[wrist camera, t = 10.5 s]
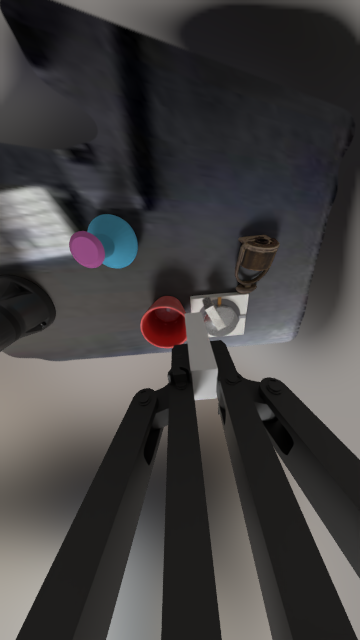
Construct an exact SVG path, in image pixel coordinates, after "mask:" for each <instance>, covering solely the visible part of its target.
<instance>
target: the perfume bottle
mask: <svg viewBox="0 0 360 640" xmlns="http://www.w3.org/2000/svg"><path fill="white" fill-rule="evenodd" d="M69 247H70V251H71V253H72V255H73V257H74V258H75V259H76V261H77V262H79V263H80V264H81V265H83V266H85V267H88V268H96V267H98V266H100V265H101V264H102V263H103V264H104V265H106V266H108V267H111V268H123V267H126V266H128V265H129V264H131V263H132V262H133V260H134V259H135V257H136V254H137V251H138V242H137V238H136V235H135V233H134V231H133V229H132V228H131V226H130V225H129V224H128V223H127V222H126V221H125V220H123V219H121V218H120V217H117V216H115V215H111V214H103V215H100V216H97V217H96V218H94V219H93V220H92V222H91V223H90V225H89V227H88V231H87V232H85V231H79V232H76V233H74V234H73V235H72V236H71V239H70V242H69Z"/></svg>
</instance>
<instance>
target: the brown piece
mask: <svg viewBox="0 0 360 640" xmlns="http://www.w3.org/2000/svg"><path fill="white" fill-rule="evenodd" d="M238 240H239V241H240V242H241V243H242V246H241V248H240V252H239V256H238V260H237V263H236V267H235V277H236V279H237V281H238V282H239V283H241V285H238V286H237V287H236V290H237V291H238V292H239V293H244V294H246V293H250V292H252V291H253V290H255V289H256V287H257V286H256V284H253V283H255V282H257V281H259V280H260V279H261V278H262V277H263V276H264V275H265V274H266V273H267V272H268V270H269V268H270V266H271V264H272V262H273V259H274V257H275V254H276V252H277V250H278V248H279V242H278V241H277V240H276V239H274V238H270V237H268V236H266V235H258V236H247V237H240V238H239V239H238ZM240 265H241V266H242V267H244V268H246V269H250V270H256V271H262V270H264V271H263V272H262V273H261V274H260V275H259V276H257V277H256V278H254V279H253V280H250V281H241V280H240V279H239V277H238V271H239V267H240Z"/></svg>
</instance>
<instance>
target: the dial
mask: <svg viewBox="0 0 360 640" xmlns="http://www.w3.org/2000/svg"><path fill="white" fill-rule="evenodd" d="M202 302H203V305H204V308H205V311H206V312H205V314H204V316H203V320H204V323H205V327H206V330H207V333H209V334H210V335H212V336H217V337H220V336H225V335H228V334H230V333H231V332H232V331H233V330H234V329H235V328H236V326H237V324H238V317H237V315H236V313H235V312H234V310H233V309H232V308H231V307H230V306H228V305H225V304H218V305H214V303H213V302H212V300H211V298H210V297H209V296H208V297H206V298H204V299H203V300H202Z"/></svg>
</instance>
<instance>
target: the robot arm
mask: <svg viewBox="0 0 360 640" xmlns="http://www.w3.org/2000/svg"><path fill="white" fill-rule="evenodd" d="M54 319H55V308H54V305H53V303H52V301H51V300H50V298H49V297H48V295H47V294H46V293H45V292H44V291H43V290H42V289H41V288H39V287H38V286H37V285H35V284H34V283H32V282H30V281H28V280H26V279H24V278H21V277H18V276H12V275H4V276H0V352H1V351H2V350H4V349H5V348H6V347H8V346H9V345H11V344H12V343H13V342H15V341H16V340H18V339H19V338H22V337H25V336H28V335H31V334H34V333H37V332H40V331H42V330H44V329H45V328H47V327H48V326H49V325H51V324H52V323H53V321H54ZM185 324H186V334H187V344H178V345H174V347H173V349H172V363H171V366H172V367H171V370H170V371H169V372H168V380H169V383H168V384H167V385H166V386H165V387H163V388H161V389H159V390H157V391H154V390H153V389H150V388H146V389H142V390H140V391H139V392H138V393H136V395H135V396H134V397H133V400H132V401H131V404H130V406H129V408H128V410H127V412H126V414H125V416H124V418H123V420H122V422H121V424H120V426H119V428H118V430H117V432H116V435H115V436H114V438H113V441H112V443H111V445H110V447H109V449H108V451H107V453H106V455H105V457H104V459H103V461H102V463H101V465H100V467H99V469H98V471H97V473H96V476H95V478H94V480H93V482H92V484H91V486H90V488H89V490H88V492H87V494H86V496H85V498H84V500H83V502H82V504H81V506H80V508H79V510H78V513H77V515H76V517H75V519H74V521H73V523H72V525H71V527H70V529H69V531H68V533H67V535H66V537H65V539H64V541H63V543H62V546H61V548H60V549H59V552H58V554H57V556H56V558H55V560H54V562H53V564H52V566H51V568H50V570H49V572H48V574H47V576H46V578H45V580H44V582H43V585H42V587H41V589H40V591H39V593H38V595H37V597H36V599H35V601H34V603H33V605H32V607H31V610H30V611H29V613H28V615H27V618H26V619H25V622H24V623H23V626H22V628H21V630H20V632H19V634H18V636H17V638H16V640H106V637H107V634H108V630H109V627H110V623H111V619H112V615H113V612H114V608H115V604H116V601H117V597H118V593H119V590H120V586H121V582H122V579H123V575H124V571H125V568H126V564H127V560H128V557H129V553H130V549H131V546H132V542H133V538H134V534H135V531H136V527H137V524H138V520H139V516H140V512H141V508H142V505H143V501H144V497H145V494H146V490H147V486H148V483H149V479H150V476H151V472H152V468H153V465H154V460H155V457H156V453H157V450H158V446H159V443H160V439H161V435H162V431H163V428H164V427H165V426H167V425H168V448H167V478H166V479H167V481H166V509H165V541H164V572H163V604H162V605H163V606H162V634H161V640H222V638H221V630H220V620H219V612H218V603H217V594H216V585H215V576H214V567H213V558H212V550H211V542H210V532H209V523H208V514H207V506H206V497H205V488H204V479H203V470H202V462H201V452H200V444H199V435H198V426H197V417H196V408H195V400H202V399H215V398H217V397H218V401H219V403H218V414H220V416H221V420H222V424H223V428H224V433H225V437H226V441H227V446H228V450H229V454H230V459H231V463H232V467H233V471H234V476H235V480H236V484H237V489H238V493H239V497H240V501H241V506H242V510H243V514H244V518H245V523H246V527H247V531H248V536H249V540H250V544H251V549H252V553H253V557H254V561H255V566H256V570H257V574H258V579H259V583H260V587H261V591H262V596H263V600H264V604H265V608H266V613H267V617H268V621H269V626H270V630H271V635H272V639H273V640H358V639H357V637H356V635H355V632H354V630H353V628H352V625H351V623H350V621H349V619H348V616H347V614H346V612H345V609H344V607H343V605H342V603H341V600H340V598H339V596H338V593H337V591H336V589H335V587H334V584H333V582H332V580H331V577H330V576H329V573H328V571H327V568H326V566H325V564H324V562H323V559H322V557H321V555H320V553H319V550H318V548H317V546H316V543H315V541H314V539H313V536H312V534H311V532H310V529H309V527H308V525H307V523H306V520H305V518H304V516H303V514H302V511H301V509H300V507H299V504H298V502H297V500H296V498H295V495H294V493H293V491H292V488H291V486H290V484H289V482H288V479H287V477H286V475H285V472H284V470H283V468H282V466H281V463H280V461H279V459H278V457H277V454H276V452H275V450H276V451H277V453H278V454H279V456H280V457H281V459H282V460H283V462H284V464H285V465H286V467H287V468H288V470H289V471H290V473H291V474H292V476H293V477H294V479H295V480H296V482H297V483H298V485H299V487H300V488H301V489H302V491H303V493H304V494H305V496H306V497H307V499H308V500H309V502H310V503H311V505H312V506H313V508H314V509H315V511H316V512H317V514H318V516H319V517H320V518H321V520H322V522H323V523H324V525H325V526H326V528H327V529H328V531H329V532H330V534H331V535H332V537H333V538H334V540H335V541H336V543H337V544H338V546H339V548H340V549H341V551H342V552H343V554H344V555H345V557H346V558H347V560H348V561H349V563H350V564H351V566H352V567H353V569H354V570H355V572H356V573H357V575H358V576H359V578H360V460H359V459H358V458H357V457H356V456H355V455H354V454H353V453H352V452H351V451H350V450H349V449H348V448H347V447H346V446H345V445H344V444H343V443H342V442H341V441H340V440H339V439H338V438H337V437H336V436H335V435H334V434H333V433H332V431H330V429H329V428H328V427H326V425H325V424H324V423H323V422H322V421H321V420H320V419H319V418H318V417H317V416H316V415H314V414H313V412H312V411H311V410H310V409H309V408H308V407H307V406H306V405H305V404H304V403H303V402H302V401H301V400H300V399H299V398H298V397H297V396H296V395H295V394H294V393H293V392H292V391H291V390H290V389H289V388H288V387H287V386H286V385H285V384H284V383H282V382H281V381H280V380H277V379H275V378H264V379H263V380H262V381H261V382H256V381H251V380H247V379H245V378H243V377H242V376H241V375H240V374H239V373H238V372H237V371H236V368H235V366H234V363H233V361H232V359H231V357H230V354H229V352H228V349H227V347H226V344H225V343H223V342H222V341H221V340H217V341H210V340H209V337H208V334H207V330H206V327H205V323H204V320H203V317H202V313H201V312H196V313H186V314H185ZM274 448H275V450H274Z"/></svg>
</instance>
